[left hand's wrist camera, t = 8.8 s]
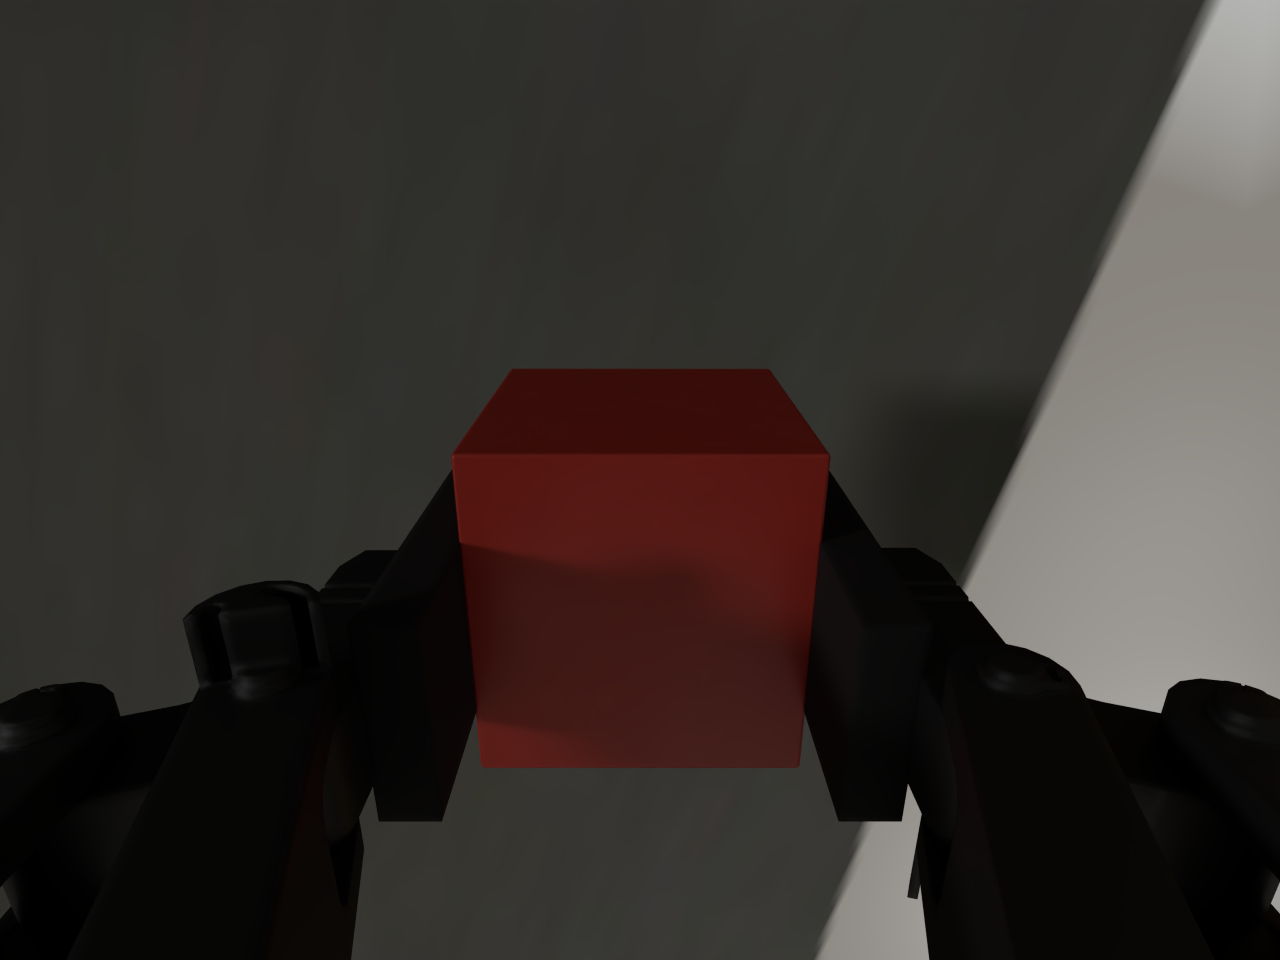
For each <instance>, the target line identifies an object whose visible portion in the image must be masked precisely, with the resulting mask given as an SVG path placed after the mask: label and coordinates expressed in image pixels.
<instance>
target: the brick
mask: <svg viewBox="0 0 1280 960" xmlns="http://www.w3.org/2000/svg"><path fill="white" fill-rule="evenodd" d="M451 460H452V471H453V481H454V491H455V501H456V512H457V522H458V532H459V541H460V546H461V556H462V566H463V576H464V587H465V597H466V607H467V617H468V627H469V638H470V648H471V658H472V668H473V678H474V688H475V699H476V709H477V711H476V716H477V726H478V737H479V747H480V757H481V765H482V767H484V768H797V767H799V764H800V755H801V745H802V735H803V725H804V715H805V712H804V704H805V694H806V684H807V674H808V664H809V653H810V643H811V633H812V623H813V613H814V603H815V593H816V583H817V572H818V562H819V552H820V542H822V536H823V526H824V516H825V506H826V496H827V486H828V476H829V466H830V454H829V453H828V451H827V450H826V449H825V447H824V446H823V444H822V443H821V442H820V440H819V439H818V437H817V436H816V435H815V433H814V432H813V430H812V429H811V427H810V426H809V425H808V423H807V422H806V420H805V419H804V418H803V416H802V415H801V413H800V412H799V411H798V409H797V408H796V406H795V405H794V403H793V402H792V401H791V399H790V398H789V396H788V395H787V394H786V392H785V391H784V389H783V388H782V386H781V385H780V384H779V382H778V381H777V379H776V378H775V377H774V375H773V374H772V372H771V371H770V370H769V369H512V370H511V371H510V372H509V374H508V375H507V376H506V378H505V379H504V381H503V382H502V384H501V385H500V386H499V388H498V389H497V391H496V392H495V394H494V395H493V396H492V398H491V399H490V401H489V402H488V404H487V405H486V406H485V408H484V409H483V411H482V412H481V413H480V415H479V416H478V418H477V419H476V421H475V422H474V423H473V425H472V426H471V428H470V429H469V431H468V432H467V433H466V435H465V436H464V438H463V439H462V441H461V442H460V443H459V445H458V446H457V448H456V449H455V451H454V452H453V453H452V456H451Z"/></svg>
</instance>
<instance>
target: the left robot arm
mask: <svg viewBox="0 0 1280 960" xmlns="http://www.w3.org/2000/svg"><path fill="white" fill-rule="evenodd" d="M183 623H184V627H185V631H186V635H187V639H188V643H189V646H190V650H191V654H192V658H193V662H194V666H195V670H196V674H197V678H198V681H199V685H200V687H199V689H198V691H197V693H196V695H195V697H194V699H193V701H192V702H189V703H185V704H181V705H177V706H172V707H167V708H162V709H157V710H151V711H146V712H141V713H136V714H131V715H126V716H120V713H119V710H118V707H117V703H116V700H115V697H114V694H113V692H111V691H110V690H109V689H107V688H106V687H105V686H103V685H101V684H94V683H87V682H75V683H66V684H53V685H49V686H44V687H41V689H38V690H37V688H36V689H33V690H30V691H26V692H23V693H21V694H19V695H17V696H16V697H15V698H12V699H10V700H8V701H5V702H3V703H1V704H0V887H1V886H3V888H4V890H5V893H6V895H7V898H8V900H9V902H10V905H11V907H10V908H9V909H8V911H7V912H6V913H5V914H4V915H3V916H2V917H1V919H0V960H351V955H352V946H353V938H354V929H355V921H356V913H357V904H358V896H359V887H360V879H361V871H362V862H363V854H364V845H363V839H362V832H361V827H360V821H359V816H360V814H361V812H362V809H363V807H364V805H365V803H366V800H367V798H368V796H369V794H370V791H371V789H372V787H373V789H374V795H375V801H376V807H377V813H378V819H379V821H442V819H443V816H444V813H445V810H446V807H447V803H448V800H449V797H450V794H451V791H452V787H453V784H454V781H455V778H456V775H457V771H458V768H459V765H460V762H461V759H462V756H463V752H464V749H465V746H466V743H467V740H468V736H469V733H470V730H471V727H472V724H473V720H474V717H475V714H476V711H477V709H476V699H475V688H474V678H473V668H472V658H471V648H470V638H469V627H468V617H467V607H466V597H465V587H464V576H463V566H462V556H461V546H460V541H459V532H458V522H457V512H456V501H455V491H454V481H453V471H452V470H451V472H450V473H449V475H448V476H447V478H446V479H445V481H444V482H443V484H442V485H441V487H440V488H439V490H438V491H437V493H436V494H435V496H434V497H433V499H432V500H431V501H430V503H429V504H428V506H427V507H426V509H425V510H424V512H423V513H422V515H421V516H420V518H419V519H418V521H417V522H416V524H415V525H414V527H413V528H412V530H411V531H410V533H409V534H408V536H407V537H406V539H405V540H404V542H403V543H402V545H401V546H400V548H399V549H398V550H365V551H364V552H362V553H361V554H359V555H357V556H356V557H354V558H352V559H351V560H349V561H347V562H346V563H344V564H342V565H341V566H339V568H338V569H337V570H336V571H335V573H334V574H333V575H332V576H331V578H330V579H329V580H328V581H327V583H326V584H325V588H322V589H321V590H320V591H319V592H318V591H316V590H315V589H314V588H312V587H311V586H310V585H308V584H304V583H299V582H294V581H264V582H258V583H253V584H248V585H242V586H239V587H236V588H233V589H230V590H227V591H224V592H222V593H219V594H216V595H214V596H212V597H211V598H209V599H207V600H205V601H204V602H202V603H200V604H198V605H196V606H195V607H194V608H193V609H192V610H191V611H190V612H189V613H188V614H187V615H186V616H185V617H184V618H183ZM804 712H805V716H806V719H807V722H808V725H809V728H810V732H811V735H812V738H813V741H814V744H815V748H816V751H817V754H818V757H819V760H820V763H821V767H822V770H823V773H824V776H825V779H826V783H827V786H828V789H829V792H830V795H831V799H832V802H833V805H834V808H835V811H836V814H837V818H838V821H902V816H903V810H904V804H905V798H906V792H907V786H908V784H909V786H910V789H911V791H912V793H913V795H914V798H915V800H916V802H917V804H918V806H919V809H920V811H921V813H922V815H921V821H920V827H919V832H918V838H917V843H916V849H915V855H914V860H913V866H912V872H911V877H910V883H909V890H908V896H907V897H909V898H914V899H917V898H918V893H919V888H920V886H921V894H922V902H923V910H924V919H925V927H926V936H927V944H928V953H929V960H1280V913H1279V912H1278V911H1277V910H1276V909H1275V908H1274V907H1273V905H1272V904H1271V902H1272V899H1273V897H1274V894H1275V892H1276V890H1277V887H1278V885H1279V883H1280V699H1278V698H1275V697H1273V696H1271V695H1268V694H1266V693H1265V692H1264V691H1262V690H1260V689H1257V688H1254V687H1251V686H1247V685H1245V686H1242V685H1241V684H1240V683H1235V682H1230V681H1219V680H1210V679H1193V680H1186V681H1180V682H1178V683H1177V684H1175V685H1174V686H1173V687H1171V688H1170V689H1169V690H1168V693H1167V696H1166V699H1165V702H1164V706H1163V709H1162V712H1161V713H1157V712H1151V711H1146V710H1141V709H1136V708H1131V707H1126V706H1120V705H1115V704H1110V703H1105V702H1100V701H1096V700H1093V699H1089V698H1086V696H1085V694H1084V692H1083V690H1082V688H1081V686H1080V684H1079V683H1078V682H1077V681H1076V679H1075V678H1074V677H1073V676H1072V675H1071V673H1070V672H1069V671H1068V670H1066V669H1065V668H1063V667H1062V666H1060V665H1059V664H1057V663H1056V662H1054V661H1053V660H1051V659H1050V658H1048V657H1046V656H1043V655H1041V654H1038V653H1036V652H1033V651H1031V650H1029V649H1026V648H1022V647H1017V646H1013V645H1008V644H1006V643H1005V642H1004V641H1003V640H1002V638H1001V637H1000V636H999V635H998V633H997V632H996V631H995V630H994V628H993V627H992V626H991V625H990V624H989V622H988V621H987V620H986V619H985V617H984V616H983V615H982V614H981V612H980V611H979V610H978V609H977V607H976V606H975V605H974V604H973V602H972V601H969V600H968V596H967V595H966V594H965V592H964V591H963V590H962V589H961V587H960V586H956V581H955V580H954V579H953V578H952V576H951V575H950V574H949V573H948V571H947V570H946V569H945V568H944V566H943V565H942V564H941V563H939V562H938V561H936V560H934V559H933V558H931V557H929V556H928V555H926V554H924V553H923V552H921V551H919V550H918V549H916V548H881V547H880V545H879V544H878V542H877V541H876V539H875V538H874V536H873V535H872V533H871V532H870V530H869V529H868V527H867V526H866V524H865V523H864V521H863V520H862V519H861V517H860V516H859V514H858V513H857V511H856V510H855V508H854V507H853V505H852V504H851V502H850V501H849V499H848V498H847V496H846V495H845V493H844V492H843V490H842V489H841V487H840V486H839V484H838V483H837V481H836V480H835V478H834V477H833V475H832V474H831V472H830V471H829V476H828V486H827V496H826V506H825V516H824V526H823V536H822V542H820V552H819V562H818V572H817V583H816V593H815V603H814V613H813V623H812V633H811V643H810V653H809V664H808V674H807V684H806V694H805V704H804Z"/></svg>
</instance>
